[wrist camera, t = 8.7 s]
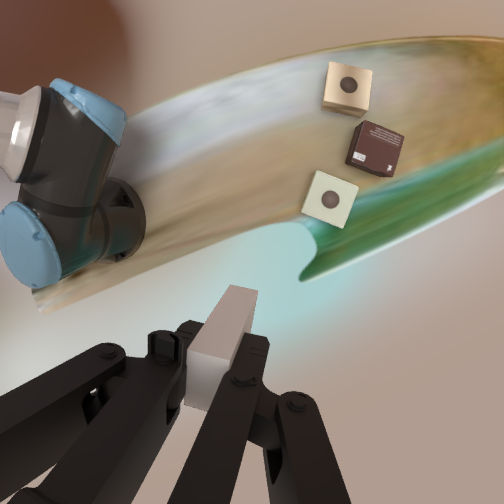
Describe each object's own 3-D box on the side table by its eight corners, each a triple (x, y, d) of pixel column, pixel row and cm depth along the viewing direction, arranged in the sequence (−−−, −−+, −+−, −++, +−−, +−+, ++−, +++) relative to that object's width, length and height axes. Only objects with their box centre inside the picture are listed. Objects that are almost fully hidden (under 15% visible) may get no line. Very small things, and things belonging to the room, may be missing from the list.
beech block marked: (321, 109, 42) (323, 100, 37) (326, 74, 41) (329, 60, 35) (360, 118, 42) (368, 110, 36) (364, 82, 40) (372, 70, 34)
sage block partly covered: (301, 207, 47) (301, 212, 41) (315, 170, 45) (317, 169, 39) (338, 222, 46) (344, 229, 40) (353, 185, 45) (360, 187, 39)
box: (391, 141, 42) (406, 136, 35) (380, 177, 44) (393, 178, 36) (355, 126, 42) (364, 118, 35) (343, 163, 44) (350, 161, 37)
